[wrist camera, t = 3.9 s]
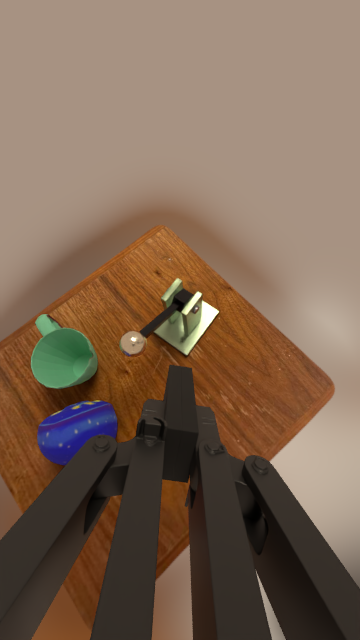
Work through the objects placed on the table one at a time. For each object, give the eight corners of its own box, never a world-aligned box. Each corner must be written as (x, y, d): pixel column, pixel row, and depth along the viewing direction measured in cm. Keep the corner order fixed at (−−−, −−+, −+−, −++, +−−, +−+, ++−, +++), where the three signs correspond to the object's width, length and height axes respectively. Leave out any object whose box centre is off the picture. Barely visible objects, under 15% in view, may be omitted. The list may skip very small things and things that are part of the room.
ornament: (119, 395, 50) (89, 388, 36) (130, 447, 47) (101, 462, 33) (62, 412, 50) (8, 413, 35) (69, 466, 47) (13, 489, 32)
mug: (119, 371, 51) (102, 362, 42) (76, 403, 50) (48, 401, 40) (81, 315, 56) (58, 295, 46) (40, 343, 54) (7, 329, 45)
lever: (133, 367, 35) (136, 352, 33) (113, 351, 36) (114, 335, 34) (192, 309, 45) (198, 294, 43) (175, 298, 46) (180, 283, 44)
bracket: (186, 356, 52) (183, 340, 39) (150, 330, 54) (137, 307, 42) (218, 313, 54) (225, 285, 42) (183, 290, 56) (179, 256, 44)
